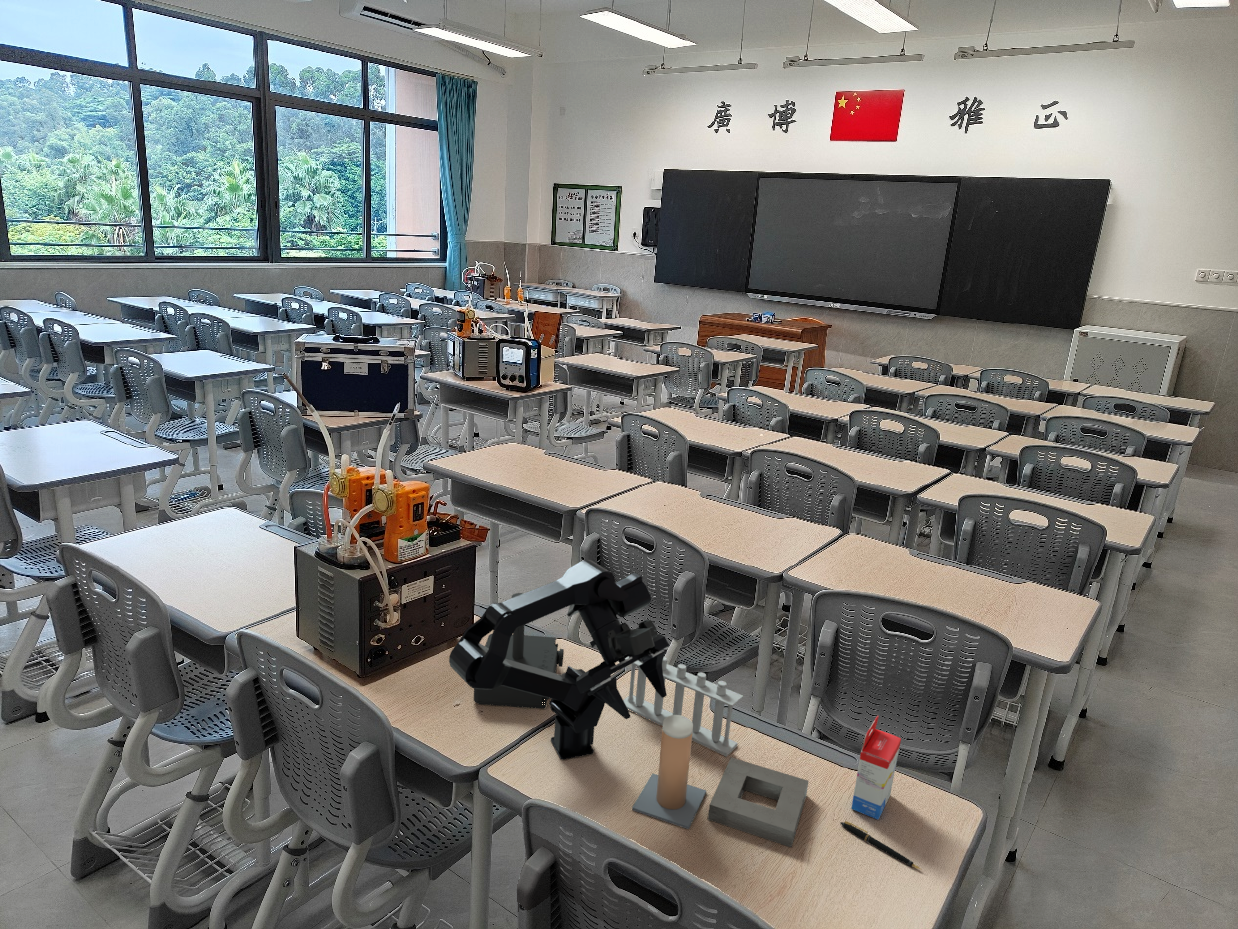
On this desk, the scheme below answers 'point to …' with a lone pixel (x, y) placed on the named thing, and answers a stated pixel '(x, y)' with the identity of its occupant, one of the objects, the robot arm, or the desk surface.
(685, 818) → the slate mat
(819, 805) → the desk surface
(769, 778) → the bore housing
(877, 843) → the fountain pen
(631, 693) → the test tube rack
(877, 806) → the ink box
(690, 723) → the tan peg
